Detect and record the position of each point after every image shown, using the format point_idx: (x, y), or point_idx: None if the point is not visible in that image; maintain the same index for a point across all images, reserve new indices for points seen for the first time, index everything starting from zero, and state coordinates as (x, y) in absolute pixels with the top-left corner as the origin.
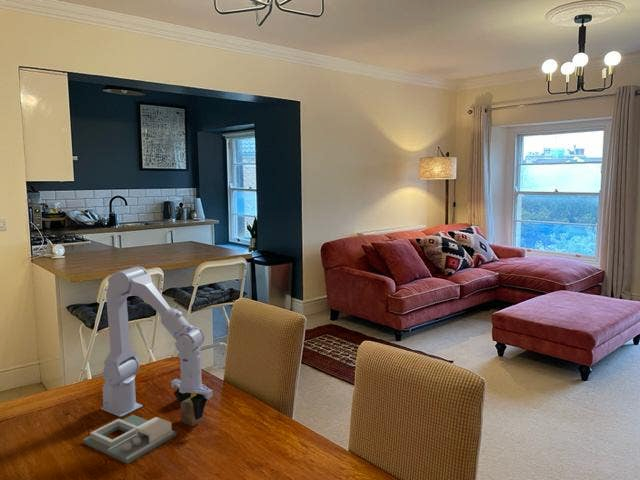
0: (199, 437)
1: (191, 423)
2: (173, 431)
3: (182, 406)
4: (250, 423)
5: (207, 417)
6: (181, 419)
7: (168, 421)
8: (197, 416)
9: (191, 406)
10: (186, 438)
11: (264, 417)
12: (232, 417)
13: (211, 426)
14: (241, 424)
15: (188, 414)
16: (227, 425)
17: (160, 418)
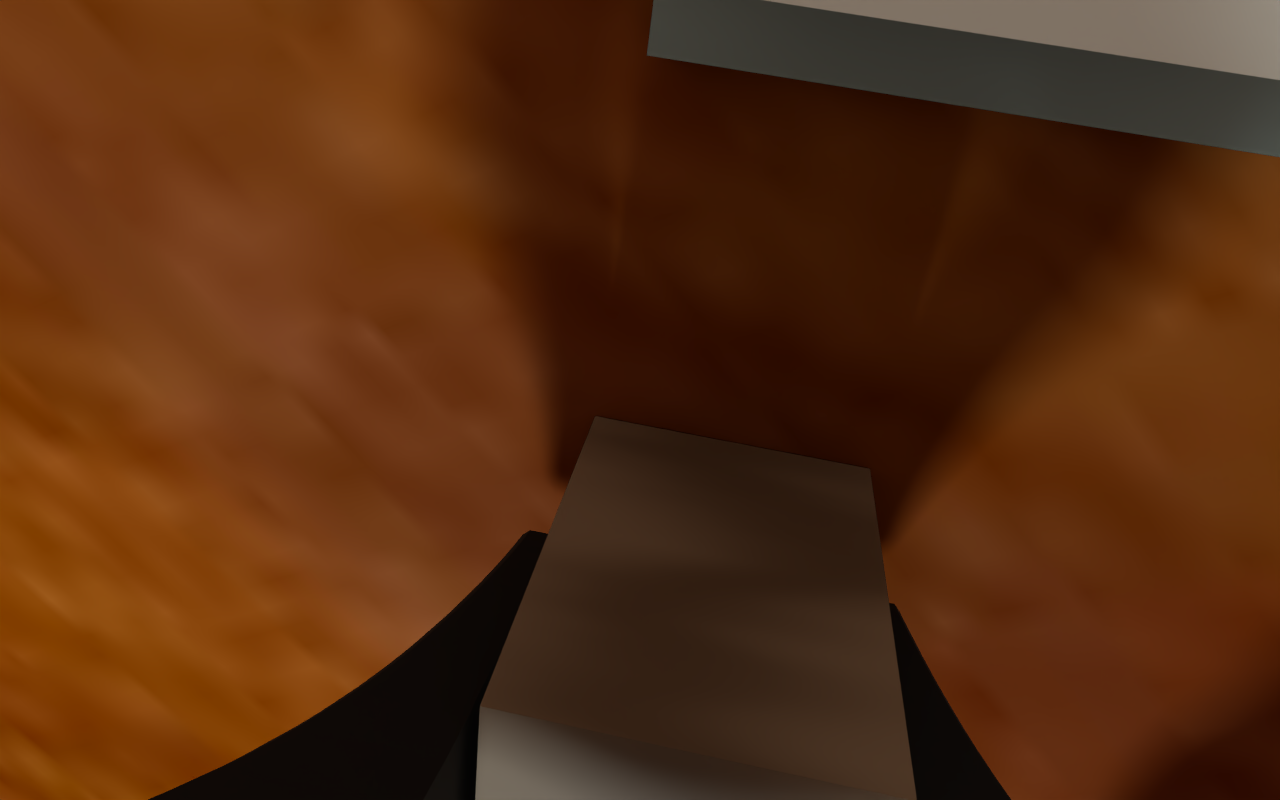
0: (227, 153)
1: (609, 442)
2: (712, 30)
3: (838, 702)
4: (9, 673)
5: None
6: (868, 497)
7: (827, 7)
8: (499, 568)
9: (494, 702)
10: (393, 19)
11: (9, 793)
12: (283, 732)
13: (334, 495)
14: (66, 633)
15: (656, 556)
16: (178, 573)
17: (1219, 64)
